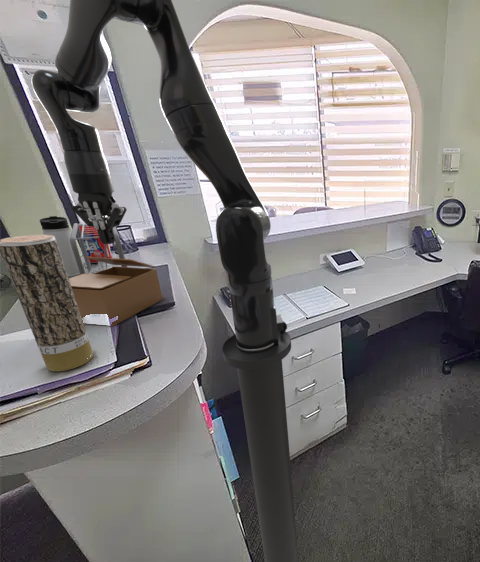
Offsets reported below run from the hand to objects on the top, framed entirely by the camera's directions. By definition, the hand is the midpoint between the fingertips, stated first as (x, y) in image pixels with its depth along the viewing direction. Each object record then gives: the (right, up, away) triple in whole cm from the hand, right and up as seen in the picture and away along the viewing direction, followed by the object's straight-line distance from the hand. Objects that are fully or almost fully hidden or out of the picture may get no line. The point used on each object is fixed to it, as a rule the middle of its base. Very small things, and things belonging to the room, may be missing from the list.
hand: (108, 243), depth 79 cm
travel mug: (-35, -8, +26) cm, 44 cm away
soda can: (-40, -2, +42) cm, 58 cm away
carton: (-1, -18, +4) cm, 18 cm away
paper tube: (+8, -26, -18) cm, 33 cm away
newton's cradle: (-19, -10, +23) cm, 32 cm away
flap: (0, -5, +4) cm, 6 cm away
